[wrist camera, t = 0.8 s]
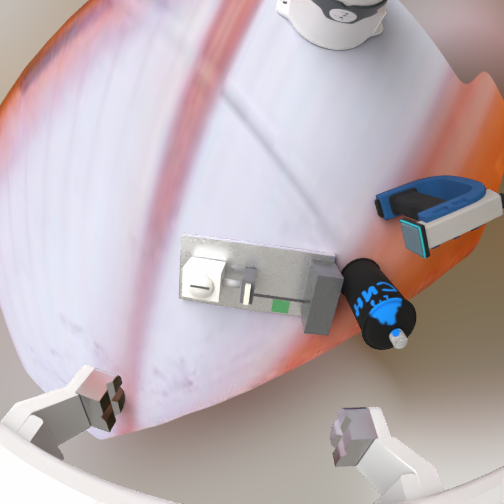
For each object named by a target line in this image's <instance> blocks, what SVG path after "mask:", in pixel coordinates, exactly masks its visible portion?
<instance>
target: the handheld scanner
mask: <svg viewBox="0 0 504 504" xmlns="http://www.w3.org/2000/svg"><path fill="white" fill-rule="evenodd" d="M376 198H377V199H376V200H375V205H376V209H377V212H378V215H379V216H380V217H381V218H384V219H385V220H389V219H391V218H394V217H396V216H399V215H402V214H403V215H405V216H407V217H410V218H412V219H415V220H419V222H415V221H412V220H409V219H406V218H403V219H401V220H400V223H401V228H402V232H403V236H404V241H405V245H406V248H407V249H409V250H411V251H413V252H414V253H416V254H418V255H420V256H422V257H423V258H427V257H429V256H430V252H429V249H433V248H436V247H438V246H440V244H442V243H444V242H447V241H449V240H451V239H453V240H454V239H456V238H458V237H460V235H462V234H464V233H466V232H468V231H470V230H471V231H473V230H475V229H478V228H479V227H481V226H482V225H483V224H485V223H487V222H489V221H491V220H493V219H495V218H497V217H499V216H501V215H502V214H503V208H504V194H503V193H501V194H497V193H496V192H494V191H492V190H490V189H487V190H486V188H485V186H484V185H483V184H482V183H481V182H478V181H475V180H472V179H468V178H463V177H457V176H433V177H428V178H423V179H419V180H416V181H413V182H410V183H407V184H405V185H402V186H399V187H397V188H394V189H391V190H389V191H386V192H383V193H381V194H378V195H376Z"/></svg>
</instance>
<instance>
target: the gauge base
mask: <svg viewBox="0 0 504 504" xmlns="http://www.w3.org/2000/svg"><path fill="white" fill-rule="evenodd" d="M191 257H195V258H202V259H209V260H216V261H223V262H226V266H225V276H224V278H226V279H233V280H240V281H241V286H240V288H236V287H229V286H223V291H222V294H221V297H220V299H219V302H213V301H207V300H201V299H195V298H189V297H183V296H182V275H183V267H184V265H185V264H186V263H187V261H188V260H189V259H190V258H191ZM335 259H336V256H335V254H332V253H325V252H318V251H311V250H304V249H298V248H291V247H284V246H277V245H270V244H262V243H255V242H248V241H241V240H234V239H227V238H219V237H212V236H205V235H197V234H190V233H183V234H182V235H181V252H180V277H179V298H180V299H185V300H191V301H197V302H203V303H209V304H215V305H221V306H228V307H234V308H241V309H248V310H255V311H262V312H270V313H278V314H286V315H294V316H301V318H302V324H303V330H304V333H308V334H318V335H328V334H329V331H330V328H331V324H332V321H333V317H334V314H335V310H336V307H337V303H338V300H339V296H340V292H341V288H342V285H343V281H344V278H343V276H342V274H341V273H340V271H339V269H338V267H337V265H336V264H335ZM245 268H252V269H257V275H256V282H255V289H254V296H253V303H252V305H251V304H248V305H245V304H243V303H240V295H241V287H242V279H243V275H244V271H245Z"/></svg>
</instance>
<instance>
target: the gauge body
mask: <svg viewBox="0 0 504 504" xmlns="http://www.w3.org/2000/svg"><path fill="white" fill-rule="evenodd" d="M225 266H226V262H223V261H216V260H209V259H202V258H195V257H191V258H190V259H189V260H188V261H187V263H186V264H185V265H184V267H183V275H182V296H183V297H189V298H195V299H201V300H207V301H213V302H219V299H220V297H221V294H222V291H223V286H229V287H236V288H240V286H241V281H240V280H233V279H226V278H224V276H225Z"/></svg>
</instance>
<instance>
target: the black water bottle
mask: <svg viewBox="0 0 504 504" xmlns="http://www.w3.org/2000/svg"><path fill="white" fill-rule="evenodd" d="M341 274H342V276H343V278H344V281H343V285H342V288H341V292H342V293H343V294H344V295H345V297H346V299H347V301H348V303H349V305H350V307H351V309H352V311H353V313H354V315H355V317H356V320H357V322H358V324H359V326H360V328H361V330H362V337H363V339H364V341H365V342H366V344H367V345H369V346H370V347H372V348H374V349H378V350H385V349H390V348H392V347H395V348H396V349H401V348H403V347H404V346H405V345H406V344H407V342H408V339H407V338H408V336H409V335H410V334H411V332H412V330H413V329H414V326H415V323H416V311H415V308H414V306H413V305H412V304H411V303H410V302H409V301H407V300H406V299H405V298H404V297H403V296H402V295H401V293H400V292H399V291H398V290H397V289H396V287H395V286H394V285H393V284H392V283H391V282H390V280H389V279H388V278H387V277H386V276H385V275H384V274H383V272H382V271H381V270H380V268H379V266H378V265H377V264H376V263H375V262H374V261H372V260H370V259H367V258H359V259H356V260H353V261H351V262H350V263H349V264H347V265H346V266H345V267H344V269H343V270H342V272H341Z"/></svg>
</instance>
